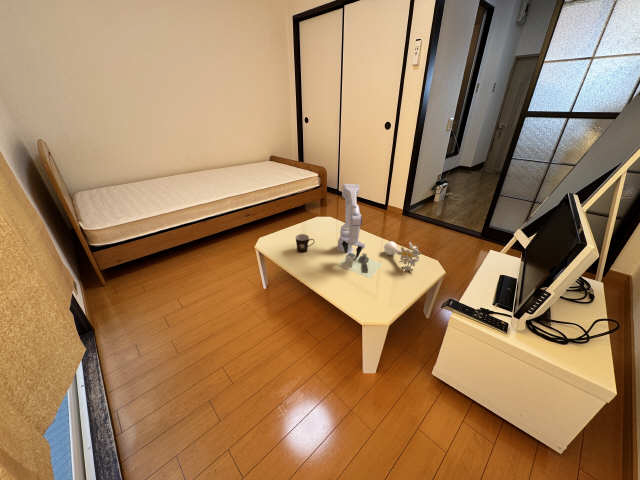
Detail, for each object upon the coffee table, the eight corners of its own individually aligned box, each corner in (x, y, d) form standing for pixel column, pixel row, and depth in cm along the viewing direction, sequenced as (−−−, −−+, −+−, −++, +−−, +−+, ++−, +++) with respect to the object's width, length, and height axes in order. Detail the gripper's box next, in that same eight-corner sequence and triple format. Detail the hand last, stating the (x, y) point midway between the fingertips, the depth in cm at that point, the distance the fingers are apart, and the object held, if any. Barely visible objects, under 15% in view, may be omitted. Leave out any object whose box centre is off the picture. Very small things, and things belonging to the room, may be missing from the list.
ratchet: (370, 272, 143) (371, 266, 141) (360, 272, 144) (361, 265, 141) (368, 258, 157) (368, 252, 155) (358, 257, 157) (359, 251, 155)
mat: (337, 265, 150) (337, 264, 149) (351, 252, 163) (351, 252, 163) (370, 278, 139) (370, 278, 139) (382, 264, 152) (382, 263, 152)
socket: (345, 264, 150) (345, 255, 147) (348, 260, 154) (349, 252, 151) (352, 266, 148) (353, 258, 145) (356, 263, 152) (357, 254, 149)
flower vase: (382, 263, 165) (407, 276, 143) (378, 238, 159) (403, 248, 137) (398, 256, 169) (425, 268, 146) (394, 231, 163) (422, 240, 140)
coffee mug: (293, 252, 161) (293, 238, 156) (299, 246, 168) (299, 233, 163) (309, 256, 158) (309, 242, 153) (314, 249, 165) (315, 236, 160)
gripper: (339, 233, 142) (337, 253, 148) (362, 241, 135) (359, 261, 141) (345, 229, 147) (343, 248, 154) (367, 236, 140) (364, 256, 147)
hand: (351, 254), depth 148 cm, fingers open, 7 cm apart
